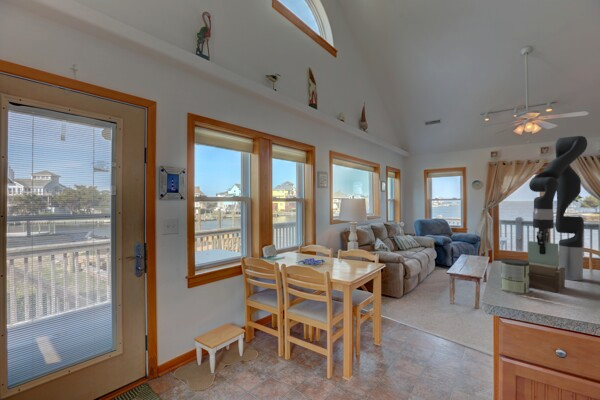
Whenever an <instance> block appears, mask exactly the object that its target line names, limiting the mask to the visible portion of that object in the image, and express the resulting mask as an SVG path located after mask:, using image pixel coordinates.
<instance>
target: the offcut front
mask: <svg viewBox="0 0 600 400" xmlns="http://www.w3.org/2000/svg"><path fill="white" fill-rule="evenodd" d="M529 272H531V273H537V274H543V275H549V276H555V272H556V267H550V266H543V265H537V264H530V263H529Z"/></svg>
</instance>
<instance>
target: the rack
mask: <svg viewBox="0 0 600 400" xmlns="http://www.w3.org/2000/svg"><path fill="white" fill-rule="evenodd" d="M565 280H566V279H565V268H562V267H561V268H560V269H559V268H558V270H557V271H556V272H555V276H549V275H543V274H537V273H531V272H529V289H530V288H531V289H535V290H539V291H540V290H541V291H545V292H550V293H554V294H555V293H556V294H559V293H561V291H563V289H565V286H566V283H565V282H566V281H565Z"/></svg>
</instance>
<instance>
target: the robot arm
mask: <svg viewBox="0 0 600 400" xmlns="http://www.w3.org/2000/svg"><path fill="white" fill-rule="evenodd" d="M554 146H555V147H554V149H555V158H554V159H553V160H551V161H550V162H548V163H547V165H546V167H544V169H543V170H542V171H541V172H539V173H537V174H535V176H533V177H532V179H530V181H529V183H528V186H529V189H530V190H531V191H532V192H535V193H544V194H543V195H541V196H537V197H534V198H533V211H532V227H533V228H534V229H538V231H537V232H536V235H535V236H536V242H538V245H539V253H540V254H546V243H549V241H550V240H549V239H550V232H549V231H548V230H551V229H554V220H555V230H556V232H557V233H560V234H573V236H571V237H569V238H568V237H567V238H564V239H560V240H559V241H558V244H559V248H558V270H559V269H560V268H561V267H562V268H565V280H569V281H570V280H571V281H579V282H580V281H583V280H584V230H585V229H584V228H585V221H584V218H583V217H581V216H576V215H575V216H568V215H565V213H566V211H567V209H568V207H570V205H571V204H572V203H573V202H574V201H575V200H576V199H577V197H578V196H579V195H580V194H581V191H582V180H581V177H580V175H578V173H577V172H576V171H575V170H574V169H573V167H572V166H571V164H572V163H573V162H574V161H576V160H577V159H578V158H579V157H580V156H582V154H583V153H584V152H585V151H586V150H587V147H588V139H587V137H585V136H583V135H575V136H567V137H560V138H558V139H557V140H556V142H555V145H554ZM555 197H556V213H554V199H555ZM554 214H555V219H554ZM541 242H543V243H541Z"/></svg>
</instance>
